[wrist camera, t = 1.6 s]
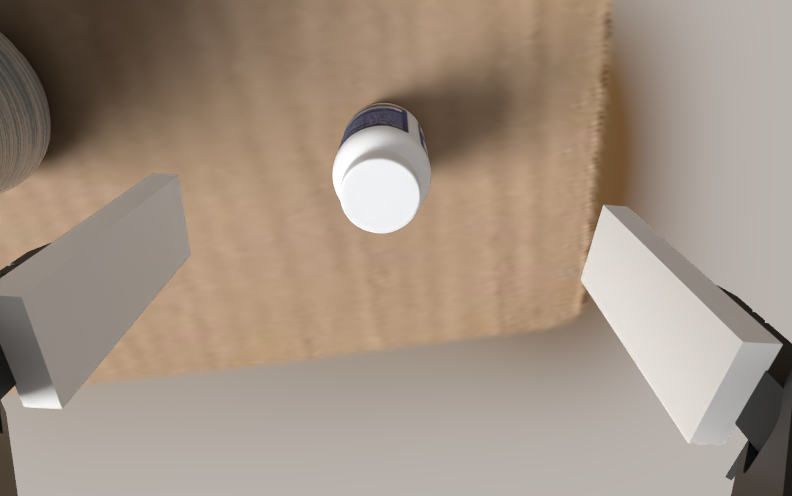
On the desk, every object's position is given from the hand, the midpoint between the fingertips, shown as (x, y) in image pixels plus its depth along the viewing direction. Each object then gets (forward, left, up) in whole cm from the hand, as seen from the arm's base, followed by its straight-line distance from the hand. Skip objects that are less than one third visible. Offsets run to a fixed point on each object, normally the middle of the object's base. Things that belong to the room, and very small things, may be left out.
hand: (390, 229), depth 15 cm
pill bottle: (0, -2, -18) cm, 18 cm away
